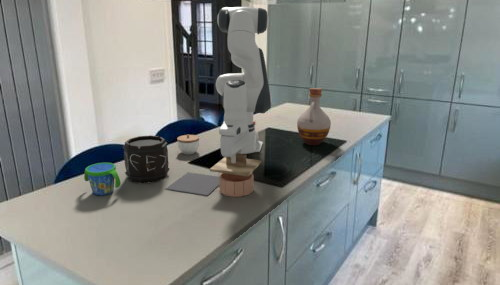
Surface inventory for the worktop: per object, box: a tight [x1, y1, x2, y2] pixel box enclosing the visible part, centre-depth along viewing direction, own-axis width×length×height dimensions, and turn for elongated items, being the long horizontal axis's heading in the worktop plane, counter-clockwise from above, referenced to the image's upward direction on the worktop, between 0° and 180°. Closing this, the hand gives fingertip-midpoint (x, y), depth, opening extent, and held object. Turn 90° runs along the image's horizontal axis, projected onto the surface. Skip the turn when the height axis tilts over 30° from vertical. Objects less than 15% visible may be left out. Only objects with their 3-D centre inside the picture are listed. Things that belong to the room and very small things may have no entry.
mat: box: [165, 172, 219, 197], centre depth 150 cm, size 18×18×1 cm
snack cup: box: [83, 162, 121, 197], centre depth 141 cm, size 16×10×10 cm
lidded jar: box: [176, 134, 200, 155], centre depth 186 cm, size 11×11×9 cm
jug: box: [296, 87, 332, 146], centre depth 198 cm, size 20×18×30 cm
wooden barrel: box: [122, 134, 170, 185], centre depth 155 cm, size 18×18×16 cm
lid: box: [209, 153, 262, 176], centre depth 141 cm, size 15×15×5 cm
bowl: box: [218, 172, 255, 198], centre depth 144 cm, size 13×13×6 cm
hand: (236, 160), depth 141 cm, fingers closed on lid, 3 cm apart
